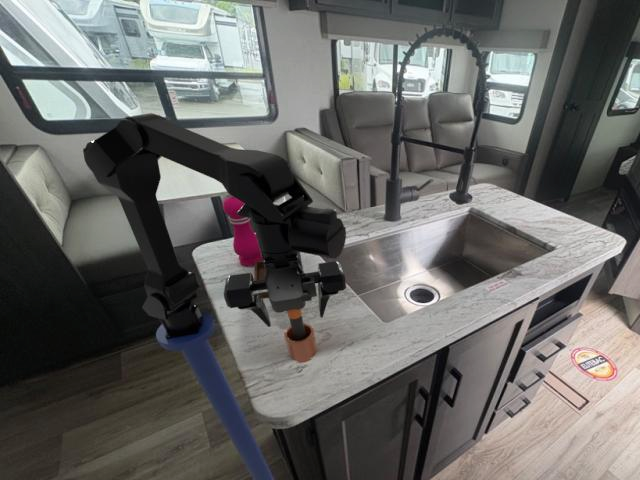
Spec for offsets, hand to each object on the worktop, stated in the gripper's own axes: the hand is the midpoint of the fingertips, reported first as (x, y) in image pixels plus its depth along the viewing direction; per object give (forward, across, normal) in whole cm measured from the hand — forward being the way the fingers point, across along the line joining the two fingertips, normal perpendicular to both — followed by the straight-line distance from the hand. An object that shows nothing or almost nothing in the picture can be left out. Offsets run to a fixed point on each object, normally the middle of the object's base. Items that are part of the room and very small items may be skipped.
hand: (296, 320), depth 59 cm
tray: (+8, -4, +28) cm, 29 cm away
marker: (+8, 0, 0) cm, 8 cm away
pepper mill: (+9, -11, +40) cm, 42 cm away
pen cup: (+8, 0, 0) cm, 9 cm away
